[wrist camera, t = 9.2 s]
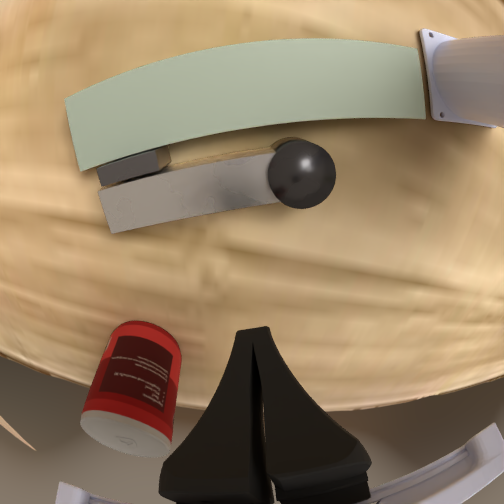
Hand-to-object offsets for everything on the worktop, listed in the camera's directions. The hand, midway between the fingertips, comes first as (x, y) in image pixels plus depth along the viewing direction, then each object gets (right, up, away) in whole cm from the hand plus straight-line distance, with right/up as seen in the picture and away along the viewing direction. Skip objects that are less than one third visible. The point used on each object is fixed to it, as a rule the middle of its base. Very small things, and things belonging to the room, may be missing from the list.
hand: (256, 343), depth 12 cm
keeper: (-8, +10, +6) cm, 14 cm away
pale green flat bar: (0, +15, +4) cm, 15 cm away
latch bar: (-3, +9, +7) cm, 11 cm away
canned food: (-11, -6, +14) cm, 19 cm away
